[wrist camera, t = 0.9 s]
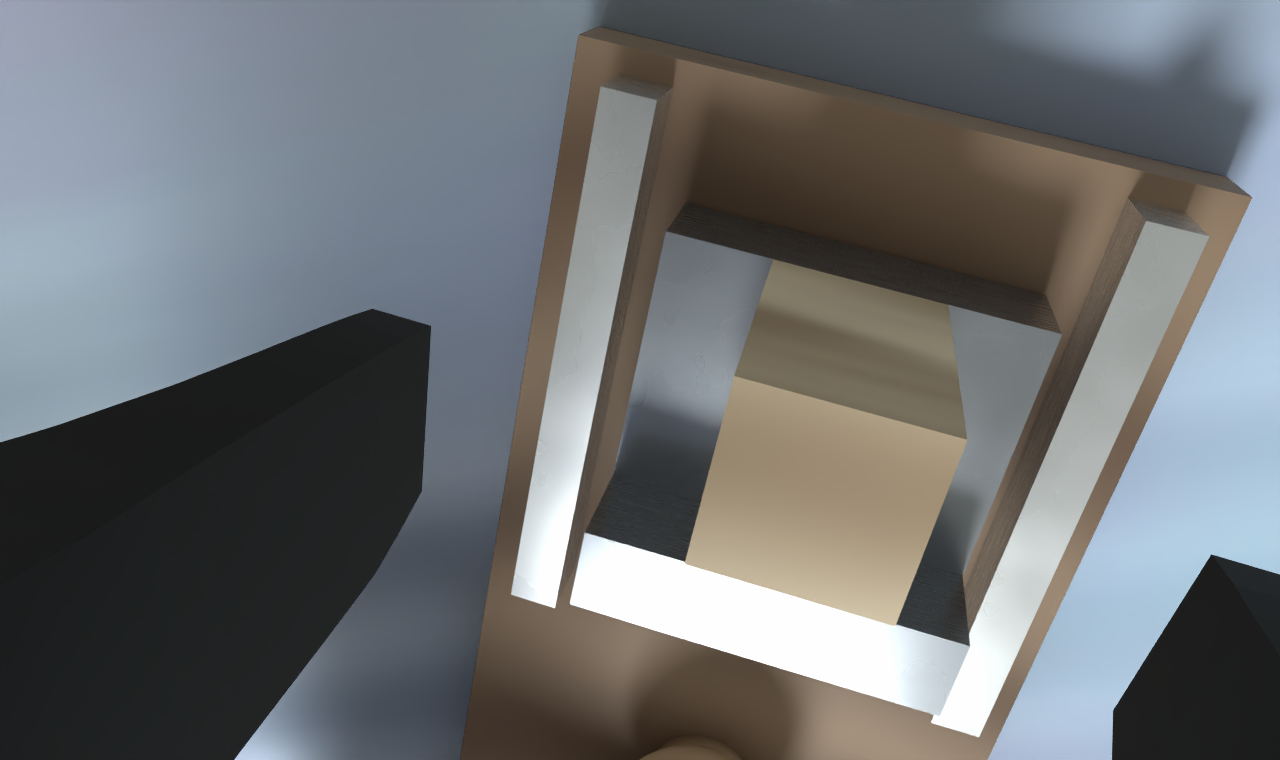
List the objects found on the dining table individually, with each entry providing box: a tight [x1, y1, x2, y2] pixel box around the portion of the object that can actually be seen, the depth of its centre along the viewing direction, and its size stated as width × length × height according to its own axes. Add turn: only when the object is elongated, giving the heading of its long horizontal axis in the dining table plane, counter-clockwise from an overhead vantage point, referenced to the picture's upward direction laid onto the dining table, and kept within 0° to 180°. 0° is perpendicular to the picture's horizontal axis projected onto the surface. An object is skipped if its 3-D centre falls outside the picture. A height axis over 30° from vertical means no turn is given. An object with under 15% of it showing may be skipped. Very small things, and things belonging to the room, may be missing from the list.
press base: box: [460, 27, 1252, 760], centre depth 22 cm, size 22×12×6 cm, turn 169°
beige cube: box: [570, 202, 1062, 716], centre depth 18 cm, size 7×7×7 cm
